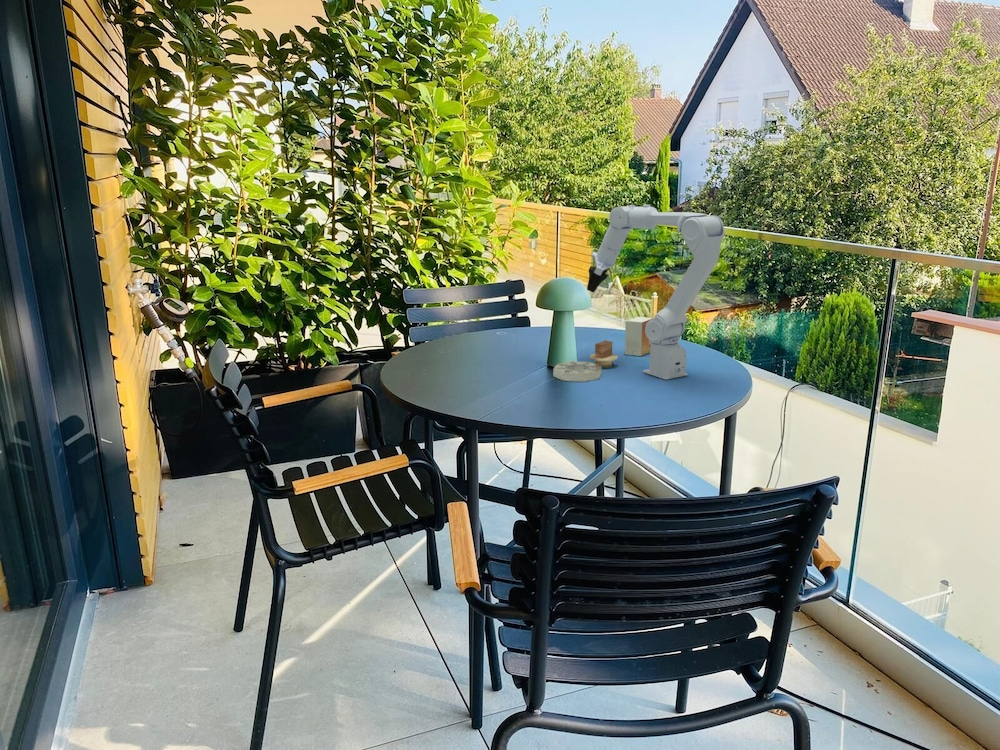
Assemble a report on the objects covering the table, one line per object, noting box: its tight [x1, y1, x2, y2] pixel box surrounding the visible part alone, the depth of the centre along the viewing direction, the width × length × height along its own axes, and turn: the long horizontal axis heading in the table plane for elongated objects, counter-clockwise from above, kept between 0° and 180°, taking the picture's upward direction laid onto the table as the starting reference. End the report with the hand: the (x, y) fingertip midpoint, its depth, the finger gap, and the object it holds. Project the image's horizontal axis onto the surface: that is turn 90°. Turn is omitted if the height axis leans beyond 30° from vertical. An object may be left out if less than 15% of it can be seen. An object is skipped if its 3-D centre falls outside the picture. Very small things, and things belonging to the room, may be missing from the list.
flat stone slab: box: [552, 360, 603, 383], centre depth 192 cm, size 12×12×2 cm
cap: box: [589, 340, 619, 369], centre depth 201 cm, size 8×8×7 cm
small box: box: [624, 316, 654, 357], centre depth 214 cm, size 8×6×10 cm
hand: (593, 285), depth 206 cm, fingers open, 7 cm apart
